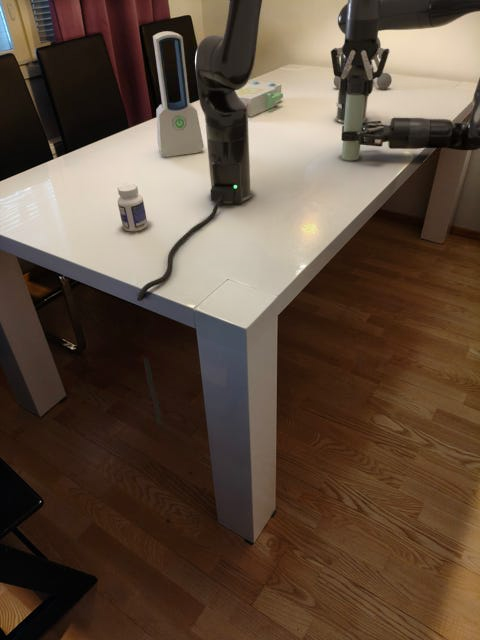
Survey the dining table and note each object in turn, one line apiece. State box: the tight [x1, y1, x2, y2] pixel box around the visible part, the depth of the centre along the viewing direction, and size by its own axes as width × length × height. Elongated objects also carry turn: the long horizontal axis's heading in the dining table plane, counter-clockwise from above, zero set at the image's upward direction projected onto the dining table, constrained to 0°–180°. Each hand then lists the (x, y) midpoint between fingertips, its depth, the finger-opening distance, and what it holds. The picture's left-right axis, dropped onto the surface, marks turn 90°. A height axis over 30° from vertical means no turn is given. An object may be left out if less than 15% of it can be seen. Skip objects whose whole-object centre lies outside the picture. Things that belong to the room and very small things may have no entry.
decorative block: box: [235, 80, 284, 118], centre depth 173 cm, size 26×6×20 cm
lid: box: [346, 78, 367, 93], centre depth 121 cm, size 5×5×2 cm
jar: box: [341, 92, 365, 162], centre depth 126 cm, size 5×5×18 cm
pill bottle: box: [117, 182, 148, 232], centre depth 102 cm, size 5×5×9 cm
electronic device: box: [152, 30, 205, 158], centre depth 133 cm, size 12×8×30 cm, turn 105°
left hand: (355, 94), depth 122 cm, fingers closed on lid, 5 cm apart
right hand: (342, 133), depth 128 cm, fingers closed on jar, 4 cm apart
